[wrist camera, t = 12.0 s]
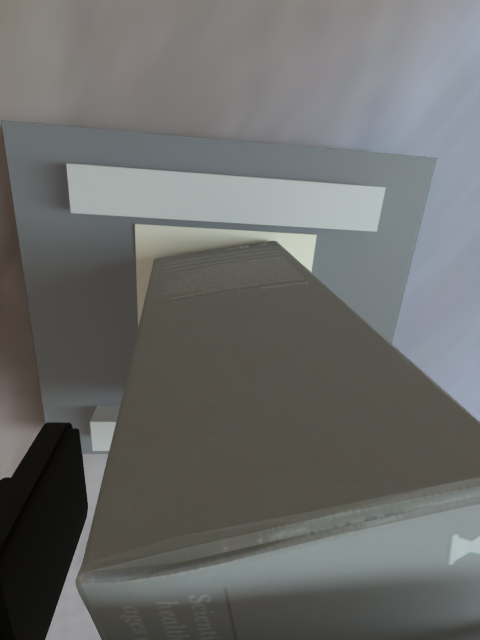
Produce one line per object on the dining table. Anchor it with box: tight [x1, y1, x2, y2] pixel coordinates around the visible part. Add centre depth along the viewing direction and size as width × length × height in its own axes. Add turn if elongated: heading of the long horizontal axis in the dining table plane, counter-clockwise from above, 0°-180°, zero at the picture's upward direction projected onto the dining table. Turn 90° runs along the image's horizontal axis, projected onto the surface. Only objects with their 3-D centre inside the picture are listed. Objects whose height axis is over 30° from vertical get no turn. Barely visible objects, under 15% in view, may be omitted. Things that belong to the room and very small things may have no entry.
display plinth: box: [1, 120, 437, 454], centre depth 21 cm, size 20×18×4 cm
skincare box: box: [76, 241, 480, 640], centre depth 13 cm, size 8×7×16 cm
